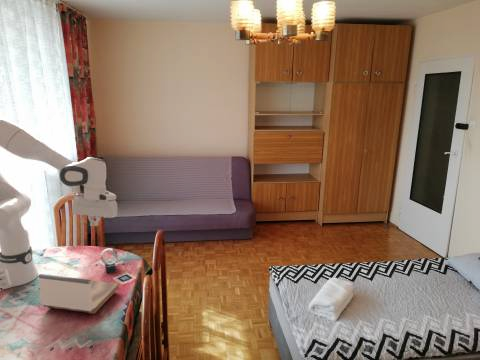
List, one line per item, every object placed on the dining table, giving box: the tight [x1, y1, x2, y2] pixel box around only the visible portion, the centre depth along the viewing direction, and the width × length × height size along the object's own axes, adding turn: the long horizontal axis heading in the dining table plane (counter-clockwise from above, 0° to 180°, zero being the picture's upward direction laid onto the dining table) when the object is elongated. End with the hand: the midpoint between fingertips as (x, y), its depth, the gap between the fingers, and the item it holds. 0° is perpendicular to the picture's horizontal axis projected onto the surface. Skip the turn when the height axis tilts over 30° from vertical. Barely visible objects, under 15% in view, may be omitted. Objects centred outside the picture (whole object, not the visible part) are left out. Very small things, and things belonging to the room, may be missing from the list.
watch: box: [100, 247, 119, 274], centre depth 165 cm, size 6×8×11 cm
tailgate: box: [38, 273, 92, 311], centre depth 129 cm, size 21×2×12 cm, turn 80°
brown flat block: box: [43, 280, 120, 315], centre depth 140 cm, size 22×18×4 cm
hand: (94, 225), depth 149 cm, fingers closed
